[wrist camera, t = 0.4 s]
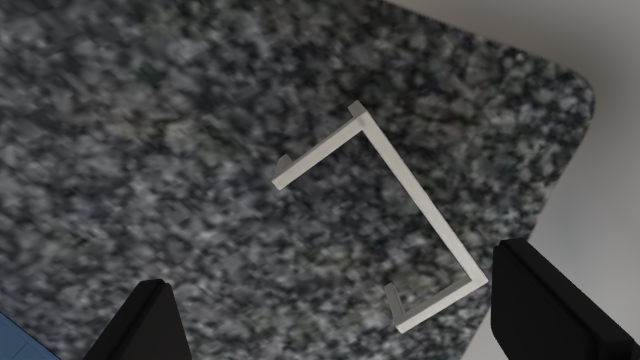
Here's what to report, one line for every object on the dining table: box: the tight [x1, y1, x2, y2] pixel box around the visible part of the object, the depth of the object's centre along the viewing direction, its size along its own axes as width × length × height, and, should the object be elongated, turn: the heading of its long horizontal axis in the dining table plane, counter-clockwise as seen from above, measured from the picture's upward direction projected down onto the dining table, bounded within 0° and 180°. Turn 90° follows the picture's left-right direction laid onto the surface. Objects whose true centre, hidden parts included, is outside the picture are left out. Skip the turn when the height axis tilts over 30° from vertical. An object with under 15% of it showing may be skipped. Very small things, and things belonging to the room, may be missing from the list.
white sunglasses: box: [272, 100, 488, 333], centre depth 24 cm, size 6×13×4 cm, turn 37°
